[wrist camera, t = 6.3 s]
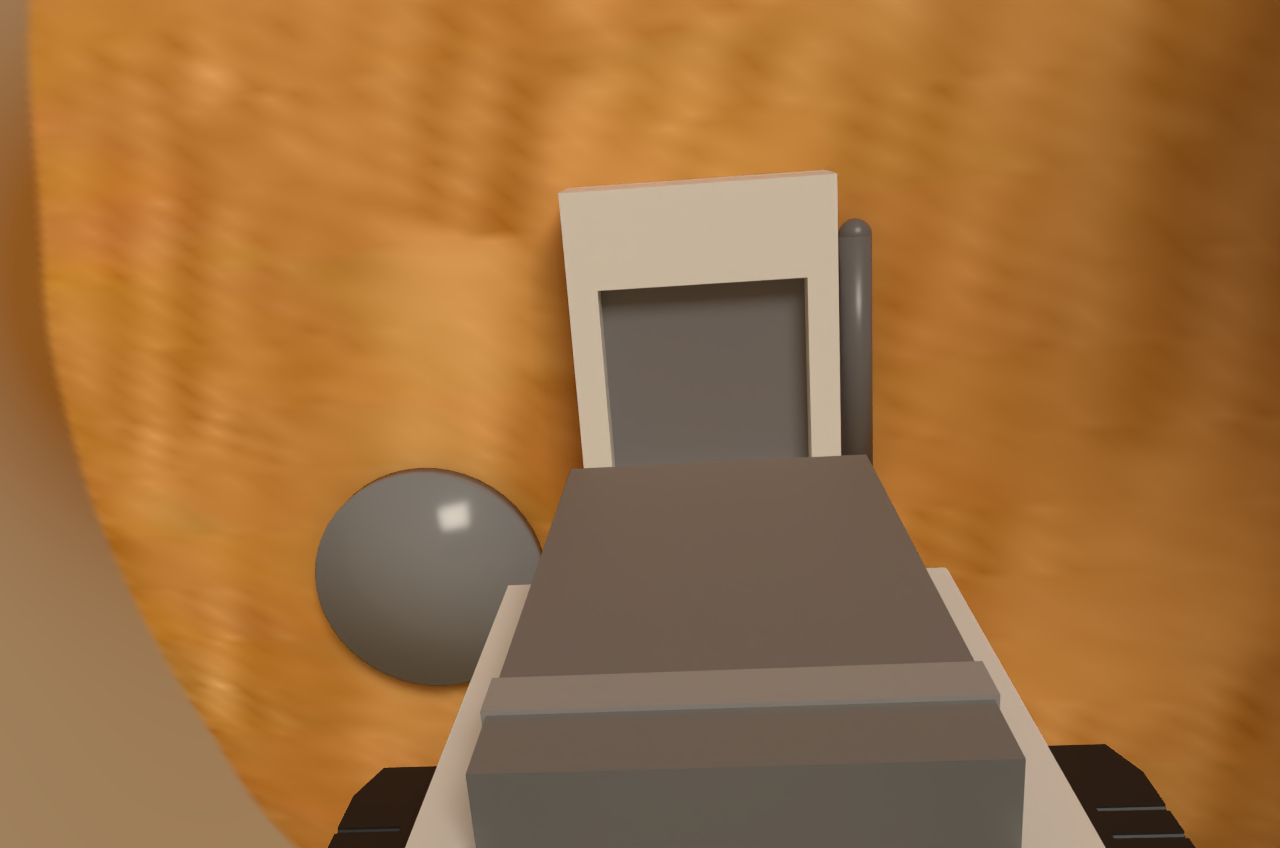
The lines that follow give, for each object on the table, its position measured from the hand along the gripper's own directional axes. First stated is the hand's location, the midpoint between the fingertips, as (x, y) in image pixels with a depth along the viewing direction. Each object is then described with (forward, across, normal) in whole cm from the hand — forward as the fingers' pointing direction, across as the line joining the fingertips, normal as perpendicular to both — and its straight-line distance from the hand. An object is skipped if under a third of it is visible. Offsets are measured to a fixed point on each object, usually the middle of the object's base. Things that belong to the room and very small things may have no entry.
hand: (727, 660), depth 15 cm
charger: (+2, 0, 0) cm, 2 cm away
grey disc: (+19, -10, -7) cm, 22 cm away
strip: (+19, 0, -5) cm, 19 cm away
